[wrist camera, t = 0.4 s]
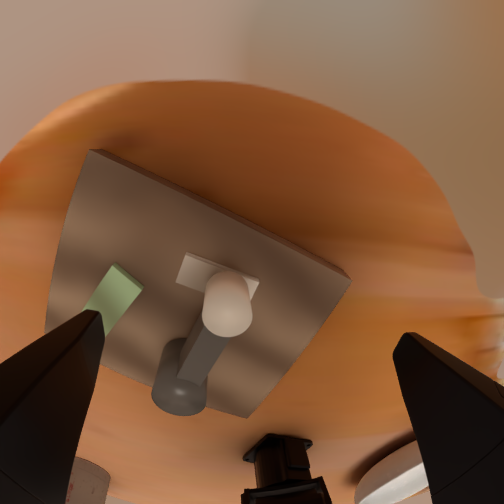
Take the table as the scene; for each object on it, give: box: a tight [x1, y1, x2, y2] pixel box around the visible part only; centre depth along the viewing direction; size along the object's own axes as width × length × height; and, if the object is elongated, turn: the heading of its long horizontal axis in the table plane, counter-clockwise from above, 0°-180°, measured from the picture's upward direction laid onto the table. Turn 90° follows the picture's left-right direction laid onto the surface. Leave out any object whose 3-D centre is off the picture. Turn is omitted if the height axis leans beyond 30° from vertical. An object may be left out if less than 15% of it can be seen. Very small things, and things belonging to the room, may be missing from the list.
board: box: [44, 149, 352, 418], centre depth 20 cm, size 16×20×3 cm
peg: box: [151, 271, 252, 416], centre depth 18 cm, size 10×4×4 cm, turn 151°
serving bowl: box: [354, 440, 428, 504], centre depth 32 cm, size 21×21×7 cm
